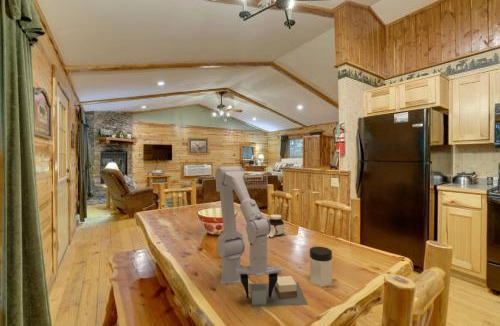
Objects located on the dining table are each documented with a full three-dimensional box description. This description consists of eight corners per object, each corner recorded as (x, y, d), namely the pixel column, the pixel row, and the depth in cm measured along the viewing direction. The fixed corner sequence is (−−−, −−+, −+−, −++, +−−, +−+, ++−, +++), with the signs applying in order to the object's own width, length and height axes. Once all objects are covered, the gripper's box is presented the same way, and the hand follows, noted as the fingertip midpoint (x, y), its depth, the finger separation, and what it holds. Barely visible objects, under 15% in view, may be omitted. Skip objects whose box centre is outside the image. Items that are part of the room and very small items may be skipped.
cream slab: (274, 283, 88) (274, 277, 88) (291, 281, 89) (291, 275, 89) (279, 292, 82) (279, 285, 82) (296, 290, 83) (296, 284, 83)
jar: (336, 281, 94) (336, 250, 94) (326, 290, 88) (326, 256, 88) (315, 274, 100) (315, 244, 100) (304, 281, 94) (304, 250, 94)
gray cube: (251, 297, 83) (251, 283, 83) (264, 296, 84) (264, 283, 83) (252, 305, 79) (252, 291, 79) (266, 304, 79) (266, 290, 79)
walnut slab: (274, 289, 88) (274, 283, 88) (290, 287, 89) (290, 281, 89) (279, 299, 82) (279, 292, 82) (296, 296, 83) (296, 290, 83)
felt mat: (249, 284, 92) (249, 283, 92) (297, 283, 93) (297, 282, 93) (251, 307, 78) (251, 306, 78) (308, 305, 79) (308, 304, 79)
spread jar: (283, 232, 155) (283, 214, 154) (284, 238, 144) (284, 218, 143) (264, 232, 156) (264, 214, 156) (263, 238, 145) (263, 218, 144)
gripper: (236, 261, 77) (236, 304, 77) (282, 259, 77) (282, 302, 77) (236, 252, 84) (236, 292, 84) (279, 251, 84) (279, 290, 85)
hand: (258, 296), depth 81 cm, fingers open, 7 cm apart
